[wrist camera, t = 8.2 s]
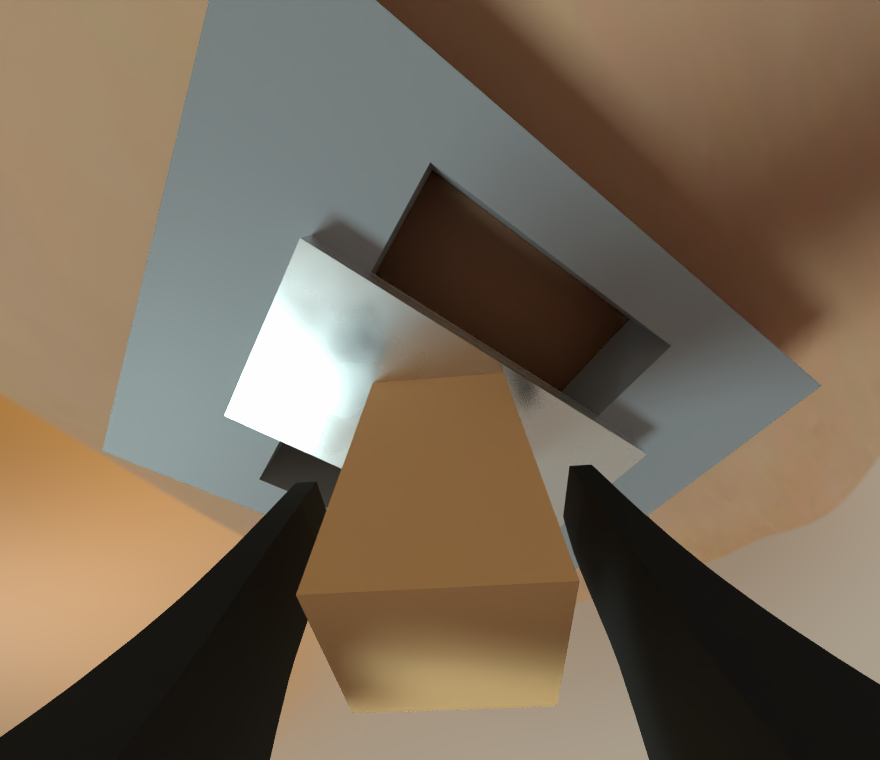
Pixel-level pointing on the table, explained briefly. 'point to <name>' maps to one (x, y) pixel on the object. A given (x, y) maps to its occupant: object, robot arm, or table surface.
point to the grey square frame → (371, 235)
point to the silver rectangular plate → (393, 370)
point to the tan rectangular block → (441, 556)
